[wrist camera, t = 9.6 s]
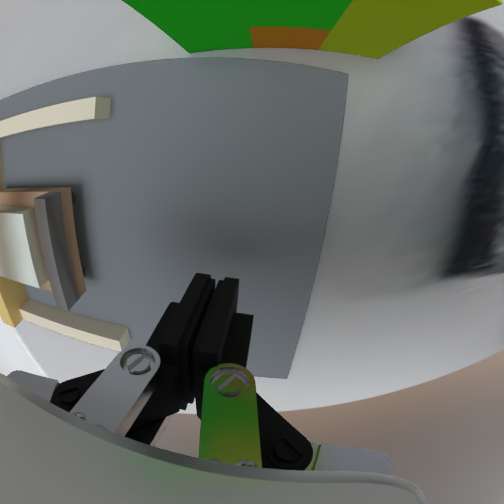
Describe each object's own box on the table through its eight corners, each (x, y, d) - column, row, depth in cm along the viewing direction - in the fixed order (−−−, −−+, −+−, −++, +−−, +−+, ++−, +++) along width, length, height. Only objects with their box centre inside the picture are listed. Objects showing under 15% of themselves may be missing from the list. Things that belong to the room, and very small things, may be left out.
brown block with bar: (82, 182, 14) (44, 198, 11) (94, 281, 17) (68, 311, 14) (4, 184, 14) (-27, 198, 11) (19, 264, 17) (-7, 285, 14)
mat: (346, 75, 11) (367, 62, 8) (286, 374, 20) (288, 409, 17) (-6, 104, 12) (-35, 108, 9) (28, 318, 21) (10, 337, 18)
